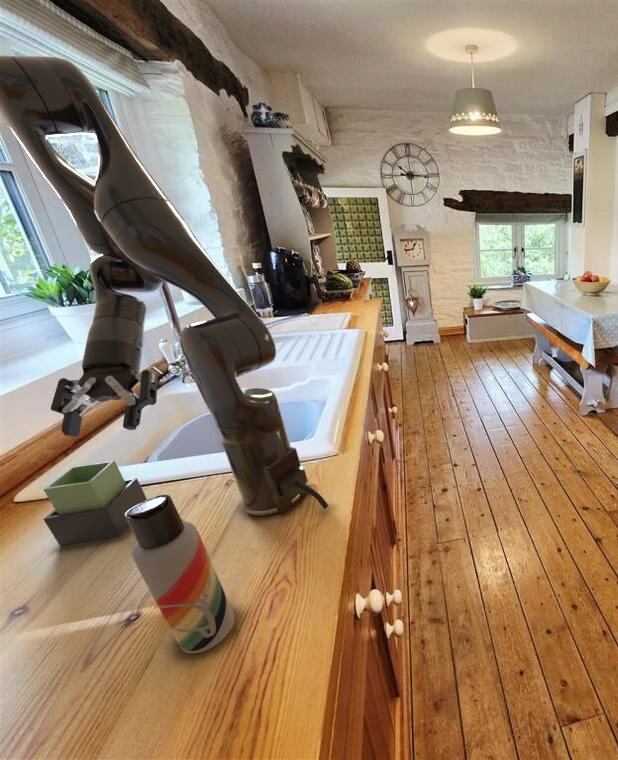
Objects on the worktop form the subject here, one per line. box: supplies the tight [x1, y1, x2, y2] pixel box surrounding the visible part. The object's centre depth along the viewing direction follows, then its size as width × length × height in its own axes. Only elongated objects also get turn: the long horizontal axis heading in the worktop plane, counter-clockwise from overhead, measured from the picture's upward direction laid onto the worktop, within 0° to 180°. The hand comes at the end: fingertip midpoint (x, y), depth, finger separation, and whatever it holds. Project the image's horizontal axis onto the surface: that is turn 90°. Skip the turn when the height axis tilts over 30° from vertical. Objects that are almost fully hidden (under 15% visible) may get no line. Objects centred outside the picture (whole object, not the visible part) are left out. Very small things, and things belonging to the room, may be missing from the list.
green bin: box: [43, 460, 127, 515], centre depth 67 cm, size 6×6×10 cm
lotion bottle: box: [125, 494, 235, 654], centre depth 47 cm, size 6×6×20 cm
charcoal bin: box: [43, 477, 148, 547], centre depth 68 cm, size 8×8×6 cm
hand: (100, 432), depth 69 cm, fingers open, 8 cm apart
